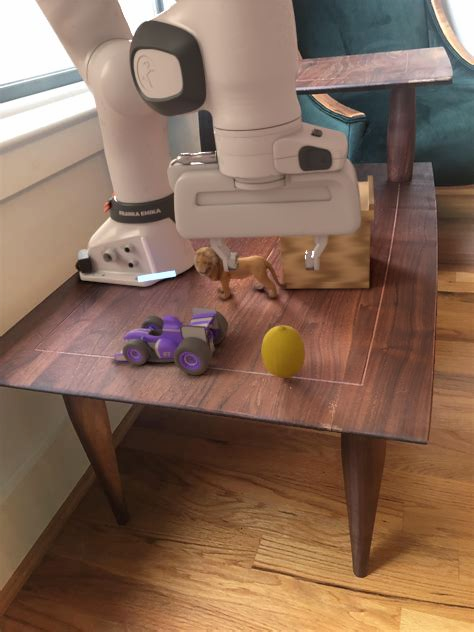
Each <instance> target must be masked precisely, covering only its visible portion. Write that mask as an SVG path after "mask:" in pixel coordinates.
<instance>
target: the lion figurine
mask: <svg viewBox="0 0 474 632" xmlns="http://www.w3.org/2000/svg"><path fill="white" fill-rule="evenodd" d="M194 256H195V258H194V259H195V263H194V268H195V270H196V271H197V273H199V274H200V276H201V277H202V276H204V277H206V278H209V280H210V281H212V282H220V285H221V287H220V291H221V292H223V293H222V294H221V296H220V297H221V299H222V300H227V299H229V297H230V294H231V290H230V283H231V280H245V279H247V278H249V277H251V276H252V275H253V277H254V278H255V279H256V280H257V281H258V282H259V284H258V283H257V284H256V285H255V290H261V289H263V288H264V287H266V288H268V289H269V290H271V291H270V292H269V293H268V296H269V298H276V297H277V294H278V289H277V288H276V287H277V286H278V287H279V288H281V289H284V288H287V286H286V285H284V284H283V283H281V282H280V281H279V278H278V277H277V274H276V272H275V269H274V267H273V265H272V264H271V263H270V262H269V260H268V259H266V258H265V257H263V256H260V255H251V256H247V257H238V260H239V268H238V271H231V272H225V271H224V266H223V259H221V258H220V257H219V256H218V255H217V253H216V252H215V251H214V250H213V249H212V247H211V246H207V247H206V246H203V247H200V248H198V249H197V250H196V251H195V253H194ZM268 271H269V272H270V274H271V276H272V278H273V280H274V281H272V280H271V279H270V277H269V276H268ZM274 282H275V283H276V284H275V283H274ZM276 285H277V286H276ZM287 289H288V288H287Z"/></svg>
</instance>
